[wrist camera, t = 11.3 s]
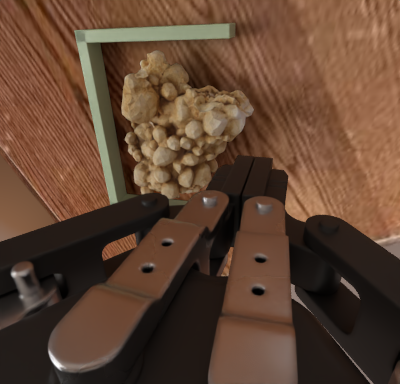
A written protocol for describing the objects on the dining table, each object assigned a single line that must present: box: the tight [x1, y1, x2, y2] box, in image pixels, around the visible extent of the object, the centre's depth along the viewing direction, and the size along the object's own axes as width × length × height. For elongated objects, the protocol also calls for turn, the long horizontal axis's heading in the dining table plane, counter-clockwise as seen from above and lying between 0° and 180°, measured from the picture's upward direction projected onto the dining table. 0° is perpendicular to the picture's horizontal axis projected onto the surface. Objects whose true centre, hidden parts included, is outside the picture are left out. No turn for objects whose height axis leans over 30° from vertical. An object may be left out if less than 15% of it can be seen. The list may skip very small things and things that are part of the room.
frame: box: [75, 23, 235, 206], centre depth 36 cm, size 16×21×2 cm
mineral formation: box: [121, 50, 254, 199], centre depth 34 cm, size 8×13×15 cm
